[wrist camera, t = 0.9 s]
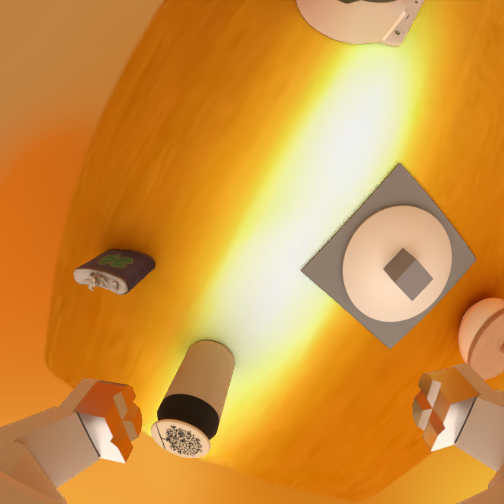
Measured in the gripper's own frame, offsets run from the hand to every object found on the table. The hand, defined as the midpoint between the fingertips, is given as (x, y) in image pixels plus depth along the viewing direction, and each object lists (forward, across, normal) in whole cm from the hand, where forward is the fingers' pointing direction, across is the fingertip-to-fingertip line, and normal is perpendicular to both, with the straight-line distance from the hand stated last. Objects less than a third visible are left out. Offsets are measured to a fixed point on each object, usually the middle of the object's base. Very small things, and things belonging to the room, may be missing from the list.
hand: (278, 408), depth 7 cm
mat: (+33, -18, +6) cm, 38 cm away
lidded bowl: (+33, -36, +16) cm, 51 cm away
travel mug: (+36, +10, +21) cm, 43 cm away
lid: (+33, -18, +6) cm, 38 cm away
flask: (+36, +21, +4) cm, 42 cm away
